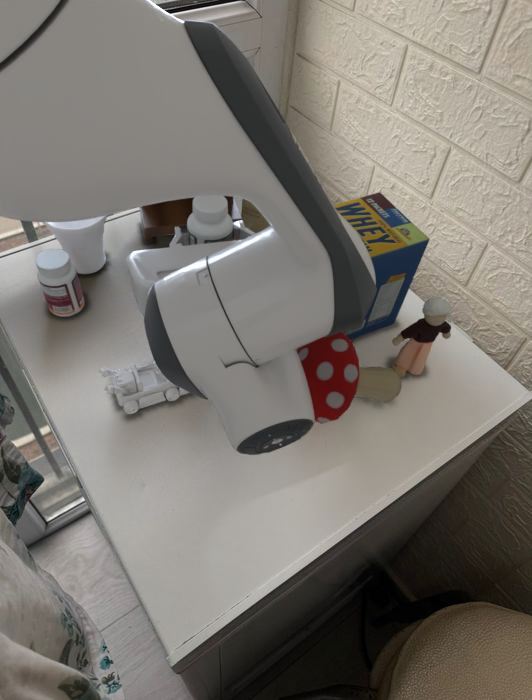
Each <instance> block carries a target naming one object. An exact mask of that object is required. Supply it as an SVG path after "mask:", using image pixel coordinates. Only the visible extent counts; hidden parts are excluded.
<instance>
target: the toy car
mask: <svg viewBox="0 0 532 700" xmlns="http://www.w3.org/2000/svg"><path fill="white" fill-rule="evenodd" d="M130 368H131V369H128V370H126V369H125V368H118V369H116V370H113V369H109V368H108V367H102V368H101V369H99V371H98V373H99V374H100V375H101V376H102V377H104V378H105V377H106V378H107V377H111V384H108V385H107V386H106V387H104V389H103V390H104V391H106V393H107V394H108V395H113V394H115V396H116V400H117V403H118V406H119V407H123V410H124V412H125V413H126V414H127V415H133V414H136V413H137V412H138V411H139V410H140V409H144V408H147V407H150V406H153V405H156V404H159V403H162V402H166V400H167V401H169V402H174V401H177V400H178V399H179V398H180V396H184V395H188V394H191V393H190V392H188V391H186V390H184V389H182V388H180V387H178V386H176V385H174V384H173V383H171V382H170V381H169V380H168V379H167V378H166V377H165V376H164V375H163V374H162V372H161V371H160V370H159V368H158V366H157V365H156V363H155V360H154V359H153V362H150V363H147V364H144V365H140V366H137V365H136V364H135V363H132V364H130Z"/></svg>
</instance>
